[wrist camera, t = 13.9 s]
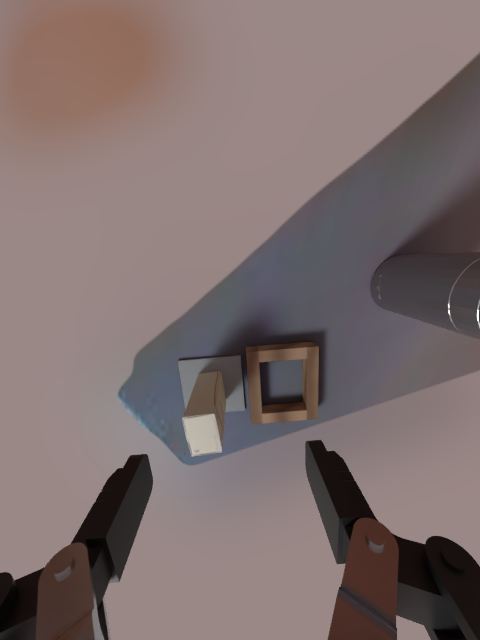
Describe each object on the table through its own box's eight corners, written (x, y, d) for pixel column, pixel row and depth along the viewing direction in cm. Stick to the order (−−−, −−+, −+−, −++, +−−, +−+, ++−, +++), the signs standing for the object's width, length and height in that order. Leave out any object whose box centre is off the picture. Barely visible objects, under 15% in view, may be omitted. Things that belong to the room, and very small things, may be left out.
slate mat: (240, 355, 40) (240, 356, 40) (244, 408, 43) (245, 410, 43) (178, 360, 40) (177, 361, 40) (186, 413, 43) (186, 415, 43)
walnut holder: (313, 341, 40) (318, 346, 38) (313, 410, 44) (317, 418, 41) (245, 346, 40) (246, 352, 38) (250, 415, 44) (251, 424, 41)
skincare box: (226, 399, 42) (224, 453, 30) (202, 403, 42) (191, 458, 30) (221, 369, 40) (215, 413, 29) (196, 372, 41) (181, 418, 29)
